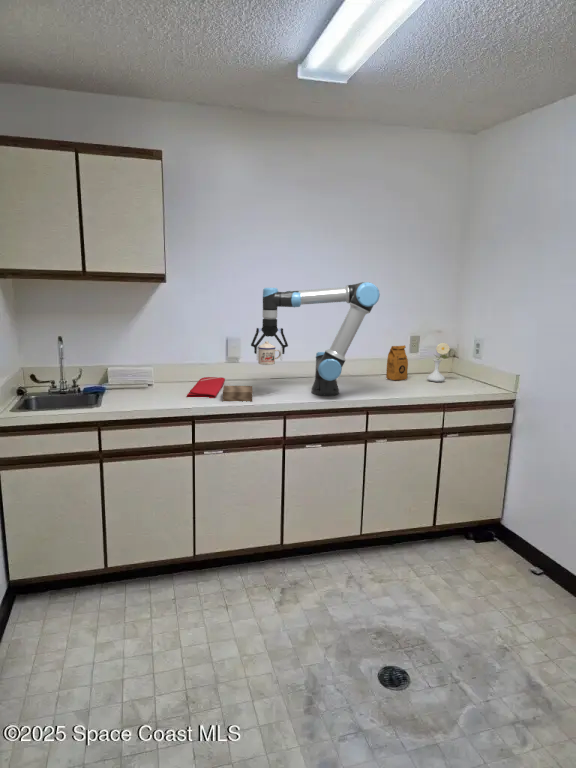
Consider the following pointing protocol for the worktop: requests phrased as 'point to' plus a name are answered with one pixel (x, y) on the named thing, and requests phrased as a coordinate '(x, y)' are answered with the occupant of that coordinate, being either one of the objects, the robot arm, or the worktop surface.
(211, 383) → the dish drying mat
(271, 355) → the teacup with lid
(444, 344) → the flower in vase
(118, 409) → the worktop surface
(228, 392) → the walnut riser
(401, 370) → the coffee package
